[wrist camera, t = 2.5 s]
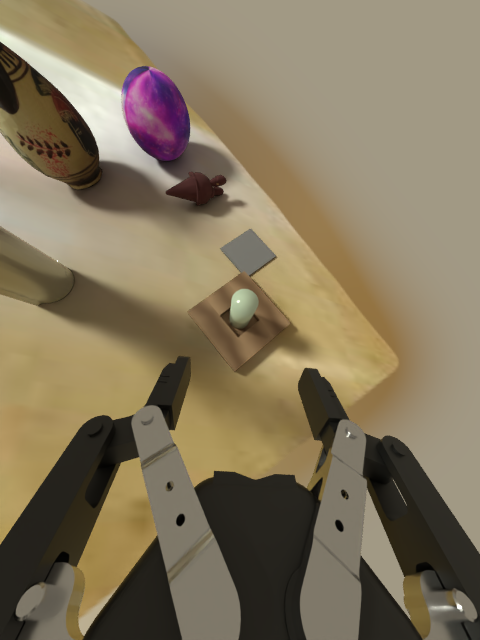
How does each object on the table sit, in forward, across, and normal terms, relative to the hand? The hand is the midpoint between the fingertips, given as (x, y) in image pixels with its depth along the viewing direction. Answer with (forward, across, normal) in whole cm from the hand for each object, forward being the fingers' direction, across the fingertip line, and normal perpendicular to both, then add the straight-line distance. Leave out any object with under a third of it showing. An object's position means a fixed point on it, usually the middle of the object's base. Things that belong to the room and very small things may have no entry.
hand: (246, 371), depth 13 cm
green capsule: (+26, -1, +11) cm, 28 cm away
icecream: (+49, +13, -11) cm, 52 cm away
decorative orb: (+59, +24, -21) cm, 67 cm away
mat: (+39, -2, -1) cm, 39 cm away
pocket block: (+26, -1, +11) cm, 29 cm away
